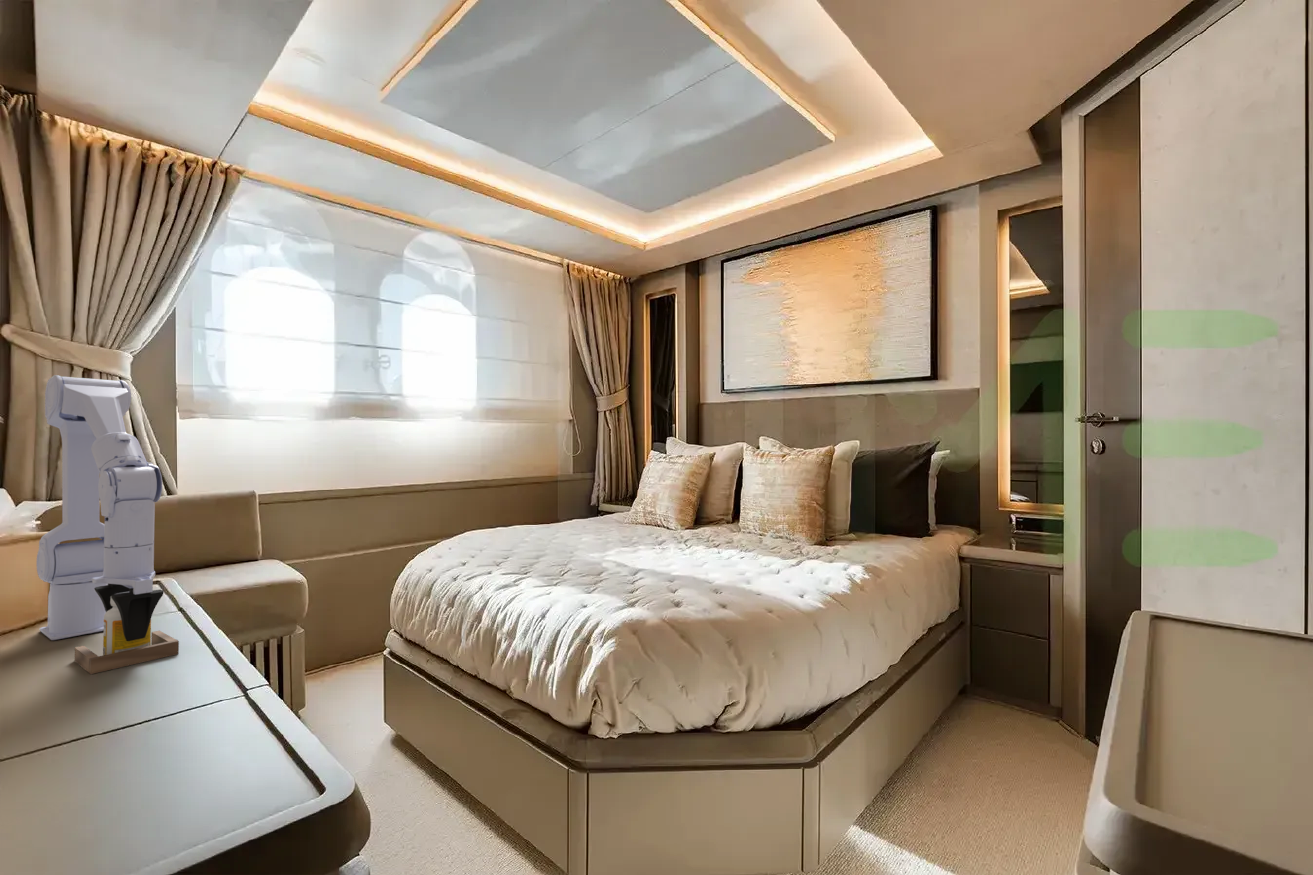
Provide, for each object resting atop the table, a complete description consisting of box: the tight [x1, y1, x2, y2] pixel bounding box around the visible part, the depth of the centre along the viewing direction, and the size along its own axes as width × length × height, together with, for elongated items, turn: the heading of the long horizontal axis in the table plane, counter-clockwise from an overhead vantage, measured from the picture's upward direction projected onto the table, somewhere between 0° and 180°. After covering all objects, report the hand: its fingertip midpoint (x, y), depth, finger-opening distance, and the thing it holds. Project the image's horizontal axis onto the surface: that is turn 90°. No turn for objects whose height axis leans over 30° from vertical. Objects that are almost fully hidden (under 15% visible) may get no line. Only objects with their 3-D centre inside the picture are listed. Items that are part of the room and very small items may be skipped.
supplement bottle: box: [102, 592, 152, 656], centre depth 89 cm, size 5×5×10 cm
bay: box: [74, 630, 180, 675], centre depth 89 cm, size 9×10×2 cm
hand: (127, 634), depth 89 cm, fingers open, 7 cm apart
